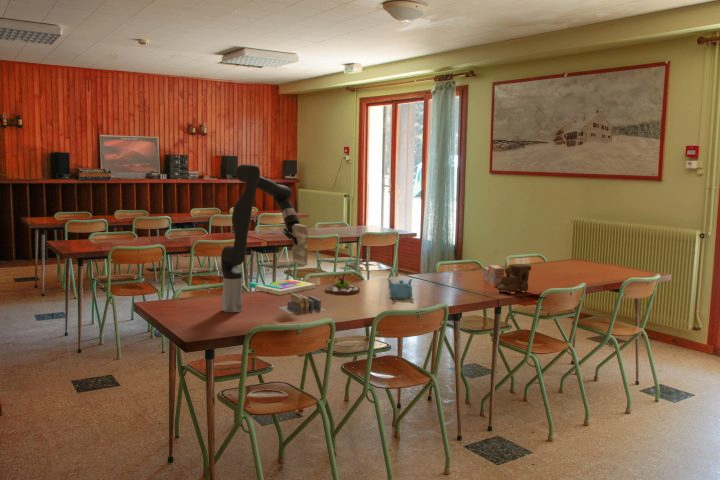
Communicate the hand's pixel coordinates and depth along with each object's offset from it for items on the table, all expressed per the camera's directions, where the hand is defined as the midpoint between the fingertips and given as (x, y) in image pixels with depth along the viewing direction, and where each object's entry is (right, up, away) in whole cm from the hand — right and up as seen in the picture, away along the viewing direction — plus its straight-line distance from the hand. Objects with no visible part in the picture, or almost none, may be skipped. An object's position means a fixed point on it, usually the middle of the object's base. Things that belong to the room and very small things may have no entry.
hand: (299, 244), depth 341 cm
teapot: (+54, -31, +37) cm, 73 cm away
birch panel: (0, -10, 0) cm, 10 cm away
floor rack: (+2, -35, -4) cm, 35 cm away
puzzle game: (-16, -27, +54) cm, 63 cm away
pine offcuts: (+1, -33, -5) cm, 34 cm away
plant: (+21, -29, +49) cm, 60 cm away
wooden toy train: (+126, -30, +61) cm, 143 cm away
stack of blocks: (+118, -27, +86) cm, 149 cm away
